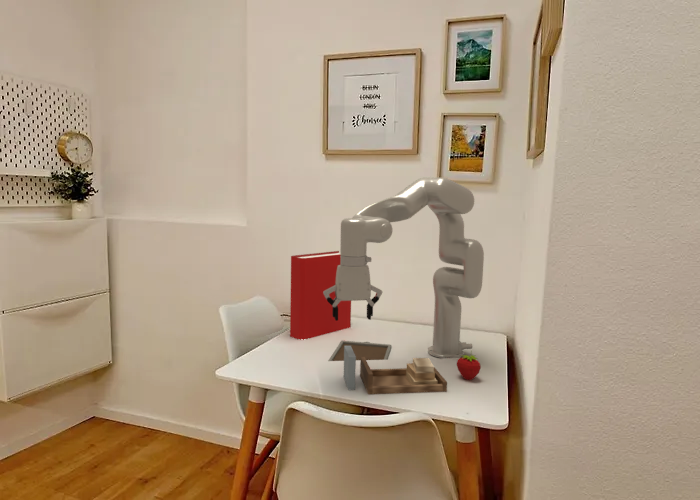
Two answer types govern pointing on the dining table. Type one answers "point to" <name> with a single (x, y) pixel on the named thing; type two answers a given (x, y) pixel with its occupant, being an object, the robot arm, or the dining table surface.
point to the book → (315, 296)
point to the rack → (395, 381)
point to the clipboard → (362, 351)
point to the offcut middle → (419, 376)
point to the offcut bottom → (419, 382)
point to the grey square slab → (349, 367)
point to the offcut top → (423, 365)
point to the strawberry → (468, 366)
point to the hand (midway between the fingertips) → (352, 318)
